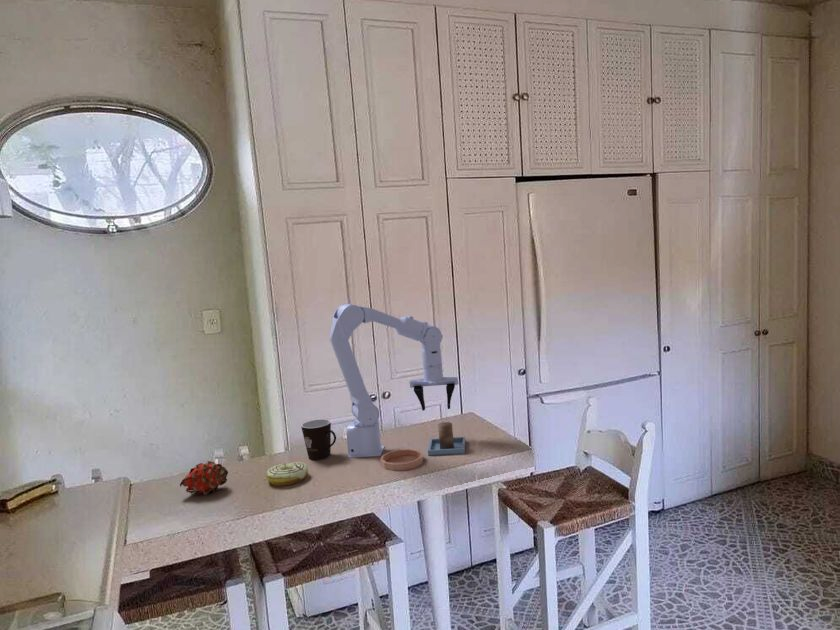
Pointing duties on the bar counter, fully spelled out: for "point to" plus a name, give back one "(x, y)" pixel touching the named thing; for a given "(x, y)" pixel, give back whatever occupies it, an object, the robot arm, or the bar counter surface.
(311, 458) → the coffee mug
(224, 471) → the dragon fruit
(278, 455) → the bar counter surface
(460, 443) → the slate tray
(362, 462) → the bar counter surface
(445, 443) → the walnut cylinder
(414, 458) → the terracotta bowl
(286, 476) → the decorated donut
